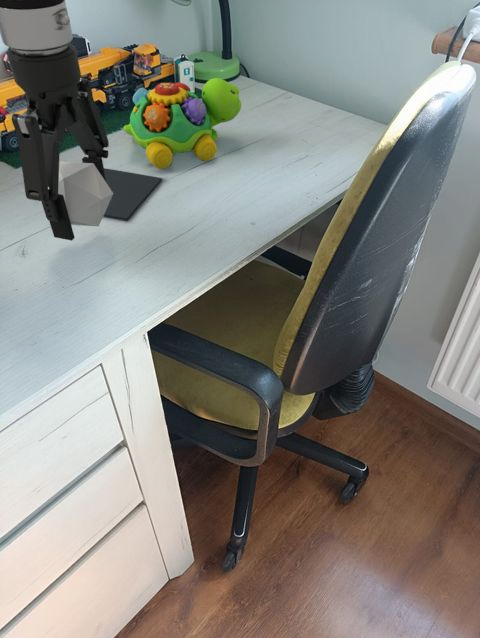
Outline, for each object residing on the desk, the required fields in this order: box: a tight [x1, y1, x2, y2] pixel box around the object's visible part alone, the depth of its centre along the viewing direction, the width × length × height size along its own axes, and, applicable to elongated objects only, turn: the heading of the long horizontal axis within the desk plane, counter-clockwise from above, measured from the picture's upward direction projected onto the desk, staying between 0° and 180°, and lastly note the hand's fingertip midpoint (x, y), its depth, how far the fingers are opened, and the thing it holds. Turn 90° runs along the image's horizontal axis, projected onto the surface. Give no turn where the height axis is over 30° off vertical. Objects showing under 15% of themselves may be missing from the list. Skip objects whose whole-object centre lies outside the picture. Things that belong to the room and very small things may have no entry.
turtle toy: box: [123, 77, 242, 170], centre depth 97 cm, size 17×23×12 cm
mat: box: [103, 167, 163, 222], centre depth 88 cm, size 14×14×1 cm
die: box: [48, 160, 113, 227], centre depth 72 cm, size 8×9×10 cm
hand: (83, 218), depth 74 cm, fingers closed on die, 10 cm apart
